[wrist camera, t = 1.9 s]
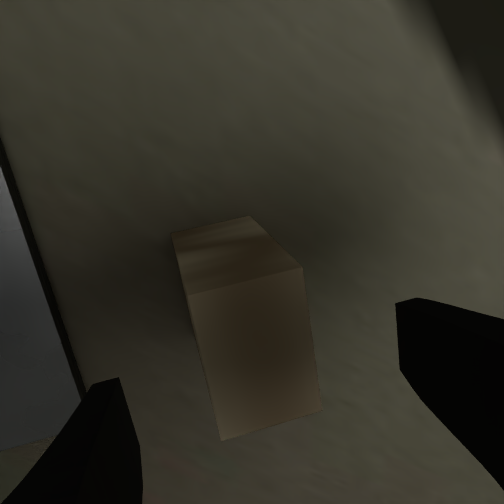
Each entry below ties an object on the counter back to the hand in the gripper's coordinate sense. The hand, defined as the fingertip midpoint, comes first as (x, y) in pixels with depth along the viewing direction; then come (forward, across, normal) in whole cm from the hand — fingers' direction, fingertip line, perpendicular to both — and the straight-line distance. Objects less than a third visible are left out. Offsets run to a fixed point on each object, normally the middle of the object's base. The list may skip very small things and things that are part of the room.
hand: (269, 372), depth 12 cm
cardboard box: (+7, 0, 0) cm, 7 cm away
